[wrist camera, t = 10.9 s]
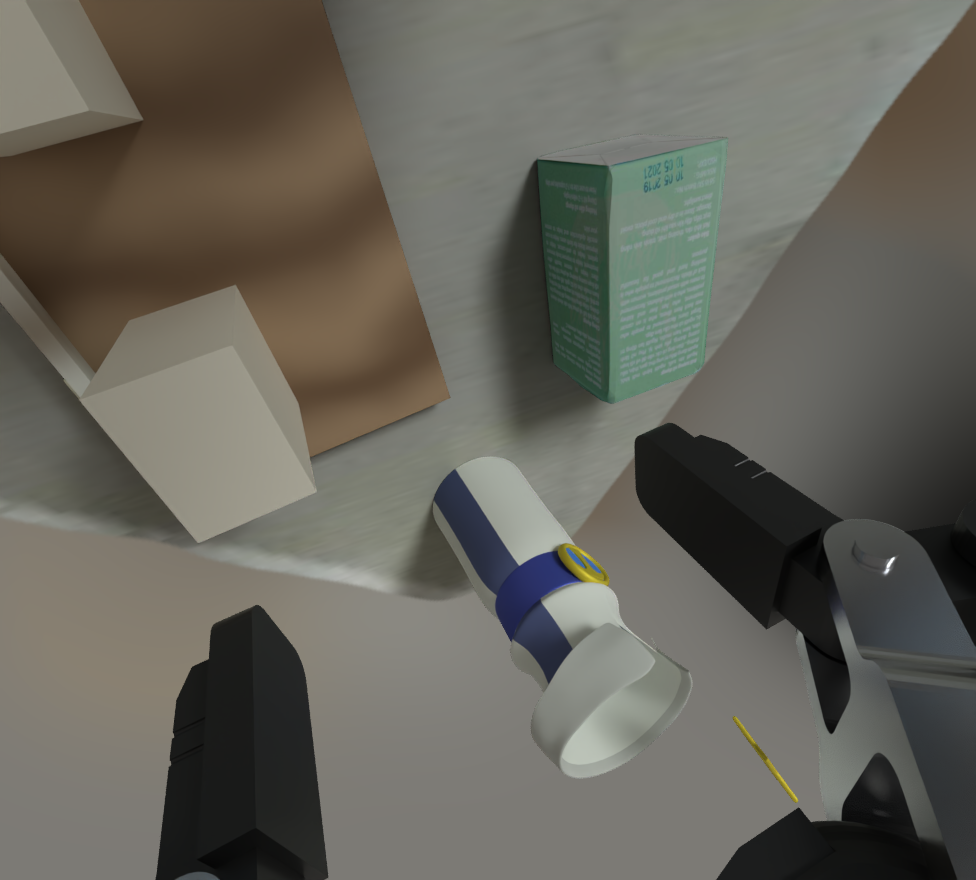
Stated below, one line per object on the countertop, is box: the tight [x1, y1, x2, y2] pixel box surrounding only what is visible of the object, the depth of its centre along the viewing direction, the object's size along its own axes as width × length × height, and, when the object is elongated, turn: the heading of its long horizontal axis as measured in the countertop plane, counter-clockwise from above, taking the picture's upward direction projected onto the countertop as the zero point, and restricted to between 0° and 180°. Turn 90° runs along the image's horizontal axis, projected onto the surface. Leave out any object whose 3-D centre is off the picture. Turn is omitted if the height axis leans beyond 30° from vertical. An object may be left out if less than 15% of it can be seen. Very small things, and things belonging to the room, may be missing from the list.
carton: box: [79, 285, 317, 543], centre depth 22 cm, size 7×5×9 cm
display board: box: [0, 0, 450, 457], centre depth 24 cm, size 24×17×2 cm
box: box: [537, 134, 728, 404], centre depth 30 cm, size 7×14×8 cm, turn 10°
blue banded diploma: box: [433, 456, 798, 803], centre depth 29 cm, size 8×9×25 cm
